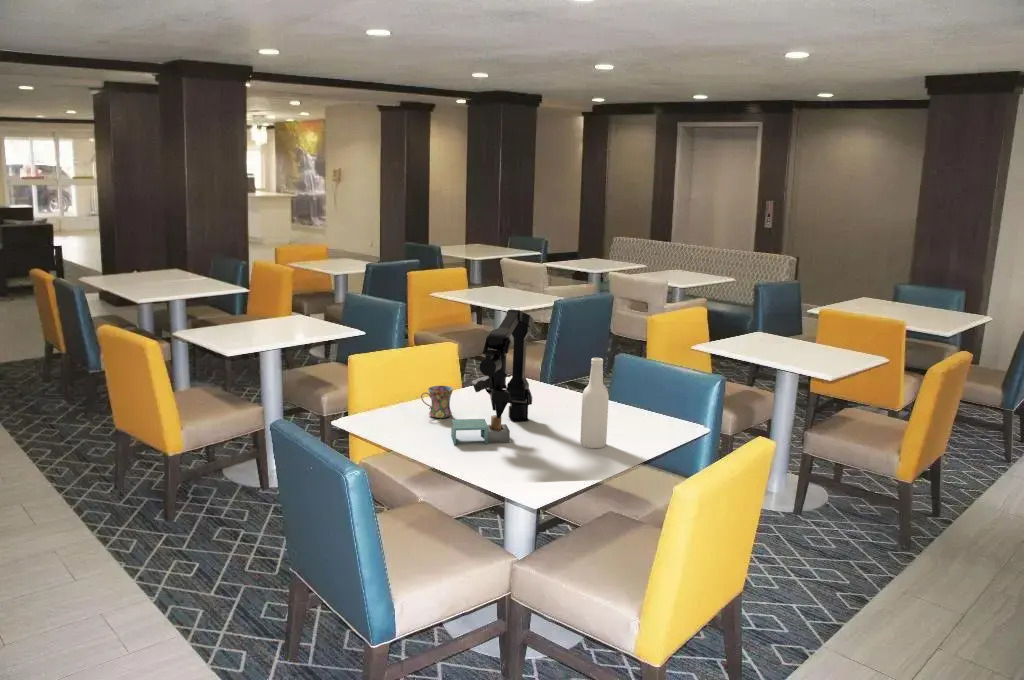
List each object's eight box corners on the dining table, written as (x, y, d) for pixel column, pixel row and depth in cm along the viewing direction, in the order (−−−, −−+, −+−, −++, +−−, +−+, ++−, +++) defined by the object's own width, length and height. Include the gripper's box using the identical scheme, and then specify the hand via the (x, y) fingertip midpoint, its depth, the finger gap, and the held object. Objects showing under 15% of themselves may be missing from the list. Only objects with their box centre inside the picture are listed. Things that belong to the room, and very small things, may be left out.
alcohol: (609, 448, 279) (613, 361, 273) (583, 449, 277) (587, 361, 271) (602, 440, 287) (606, 355, 281) (577, 441, 286) (581, 356, 280)
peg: (500, 437, 288) (500, 415, 286) (501, 440, 284) (502, 418, 283) (490, 437, 287) (490, 415, 285) (491, 440, 284) (492, 418, 282)
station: (505, 434, 291) (505, 418, 289) (510, 443, 281) (510, 426, 280) (451, 436, 287) (451, 419, 286) (454, 445, 278) (454, 428, 277)
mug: (450, 412, 316) (451, 385, 314) (454, 419, 308) (455, 391, 305) (419, 413, 314) (419, 386, 311) (422, 420, 305) (422, 392, 303)
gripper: (470, 363, 288) (469, 407, 291) (477, 376, 270) (476, 422, 273) (502, 363, 290) (501, 406, 293) (511, 376, 272) (509, 421, 275)
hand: (496, 414), depth 284 cm, fingers open, 9 cm apart
